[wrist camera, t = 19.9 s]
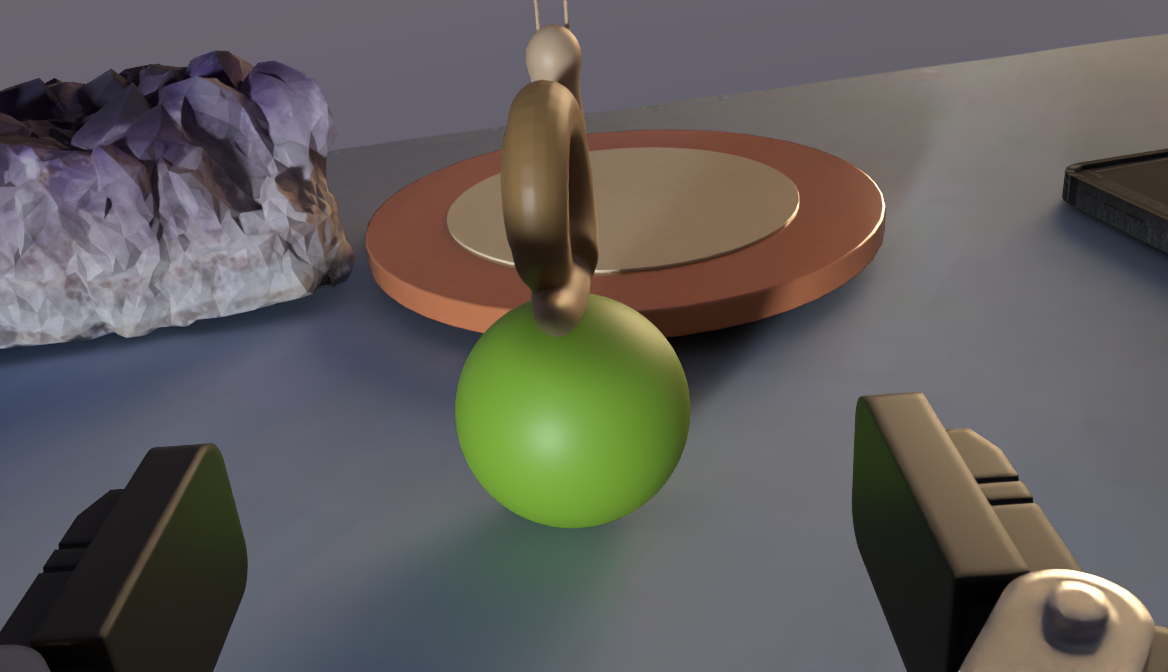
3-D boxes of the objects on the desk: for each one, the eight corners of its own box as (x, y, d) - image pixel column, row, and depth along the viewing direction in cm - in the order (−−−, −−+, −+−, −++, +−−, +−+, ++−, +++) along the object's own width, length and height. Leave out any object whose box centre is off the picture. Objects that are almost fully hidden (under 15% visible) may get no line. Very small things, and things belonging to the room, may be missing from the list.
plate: (327, 385, 33) (316, 332, 32) (406, 183, 50) (400, 145, 49) (956, 338, 33) (961, 284, 32) (821, 151, 50) (822, 112, 49)
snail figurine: (688, 421, 30) (669, -41, 24) (698, 574, 24) (678, 14, 19) (490, 429, 30) (429, -23, 25) (454, 581, 24) (365, 36, 19)
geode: (-303, 453, 32) (-461, 116, 29) (-159, 339, 43) (-262, 83, 40) (377, 303, 36) (306, -8, 33) (355, 233, 47) (300, -8, 44)
